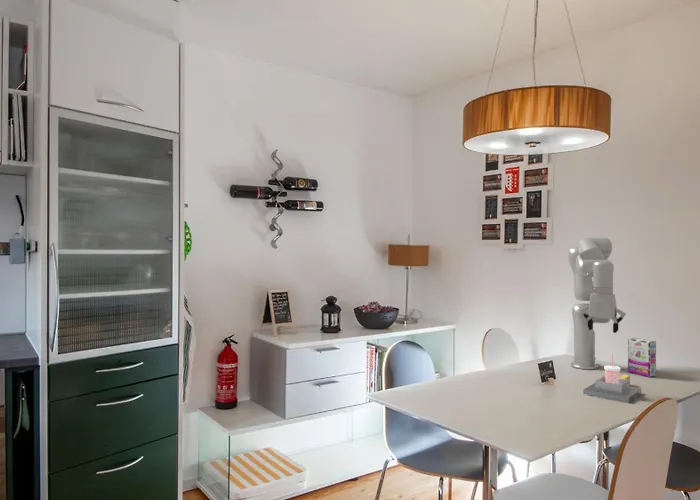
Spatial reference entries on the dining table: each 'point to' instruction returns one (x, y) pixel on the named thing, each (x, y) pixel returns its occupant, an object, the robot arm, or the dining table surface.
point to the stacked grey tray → (613, 390)
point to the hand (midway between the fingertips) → (602, 330)
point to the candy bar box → (642, 357)
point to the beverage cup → (612, 373)
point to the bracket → (625, 377)
